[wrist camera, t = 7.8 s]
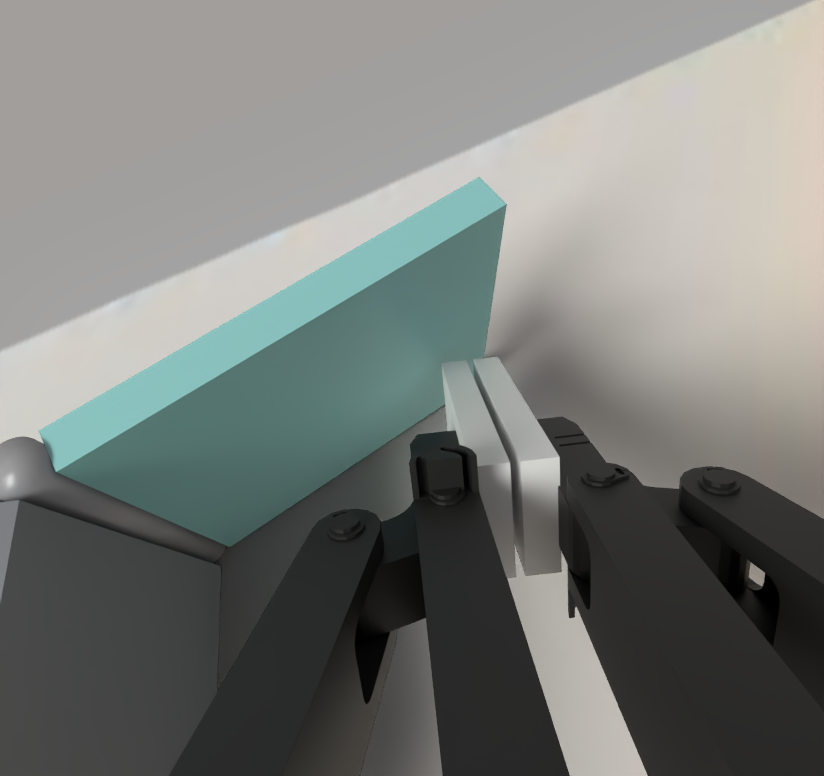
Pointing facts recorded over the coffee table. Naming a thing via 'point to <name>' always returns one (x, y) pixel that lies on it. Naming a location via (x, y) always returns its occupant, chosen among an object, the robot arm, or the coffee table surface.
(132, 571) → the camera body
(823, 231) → the coffee table surface
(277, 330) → the side door
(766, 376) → the coffee table surface
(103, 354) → the coffee table surface
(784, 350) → the coffee table surface
